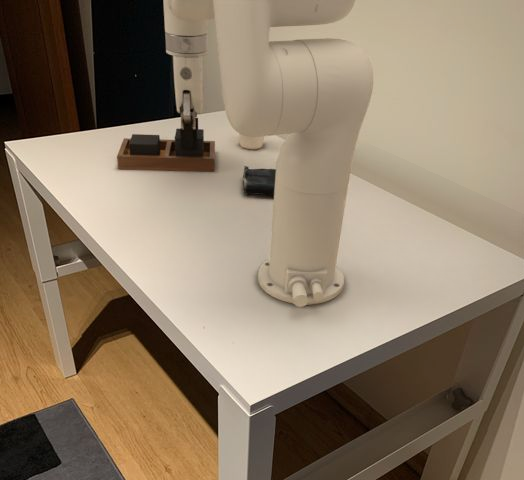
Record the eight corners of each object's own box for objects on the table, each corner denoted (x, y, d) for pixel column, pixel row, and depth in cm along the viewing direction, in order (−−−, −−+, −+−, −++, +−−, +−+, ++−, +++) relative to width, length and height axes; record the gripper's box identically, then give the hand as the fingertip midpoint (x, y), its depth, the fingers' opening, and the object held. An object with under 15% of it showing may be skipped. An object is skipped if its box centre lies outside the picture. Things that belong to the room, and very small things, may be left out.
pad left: (158, 161, 112) (157, 144, 109) (130, 161, 111) (128, 143, 109) (160, 151, 116) (159, 134, 114) (133, 151, 115) (132, 134, 113)
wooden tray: (214, 171, 111) (214, 158, 110) (118, 169, 110) (116, 156, 108) (214, 153, 119) (214, 140, 117) (125, 150, 117) (123, 138, 116)
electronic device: (244, 207, 103) (325, 199, 102) (240, 176, 100) (324, 169, 99) (245, 192, 111) (320, 185, 110) (242, 164, 108) (319, 156, 107)
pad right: (203, 156, 111) (202, 138, 109) (175, 155, 111) (174, 138, 109) (203, 146, 116) (203, 129, 113) (177, 145, 115) (176, 128, 113)
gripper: (206, 55, 94) (207, 160, 106) (208, 34, 108) (209, 129, 119) (161, 53, 94) (168, 159, 105) (169, 33, 107) (174, 128, 119)
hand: (190, 142), depth 112 cm, fingers open, 5 cm apart
